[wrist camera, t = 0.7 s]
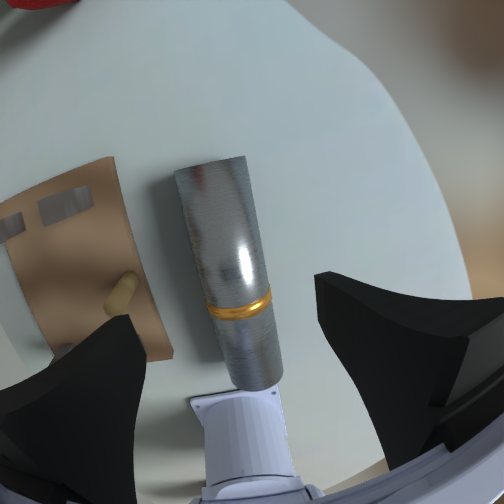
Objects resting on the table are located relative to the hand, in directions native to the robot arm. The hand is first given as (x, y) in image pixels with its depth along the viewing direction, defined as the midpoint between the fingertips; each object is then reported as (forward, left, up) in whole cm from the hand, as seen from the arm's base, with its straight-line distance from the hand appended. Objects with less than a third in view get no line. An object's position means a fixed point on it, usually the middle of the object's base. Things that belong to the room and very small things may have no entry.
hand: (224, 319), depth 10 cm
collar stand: (0, +11, -9) cm, 14 cm away
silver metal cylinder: (-2, 0, -9) cm, 9 cm away
